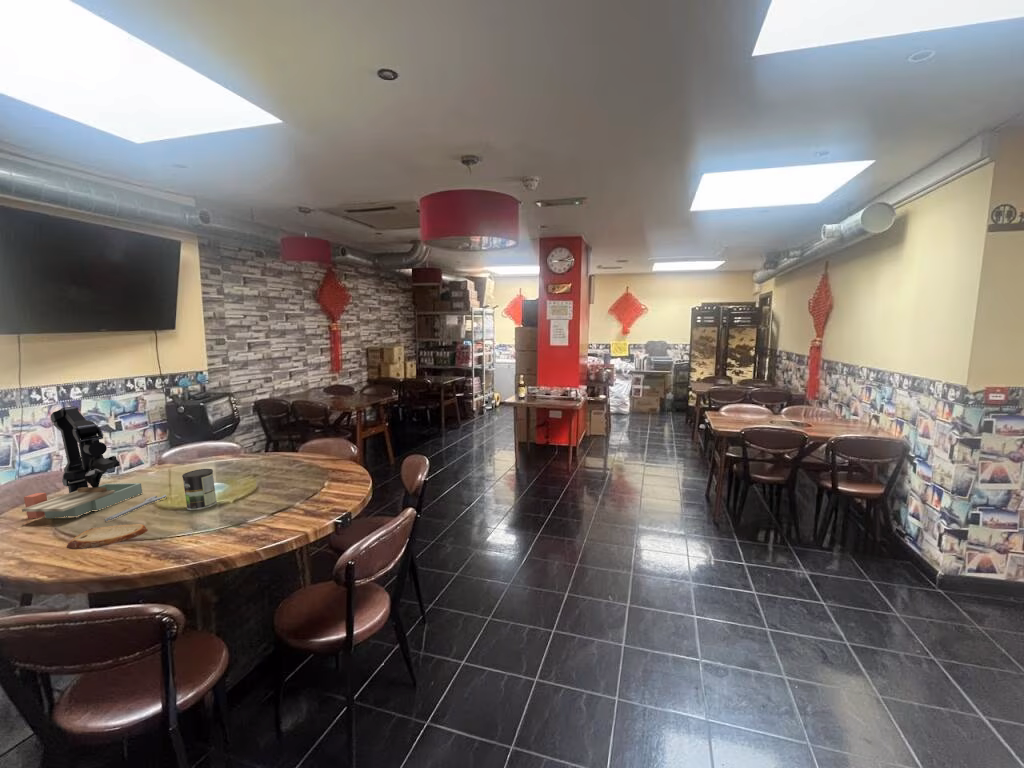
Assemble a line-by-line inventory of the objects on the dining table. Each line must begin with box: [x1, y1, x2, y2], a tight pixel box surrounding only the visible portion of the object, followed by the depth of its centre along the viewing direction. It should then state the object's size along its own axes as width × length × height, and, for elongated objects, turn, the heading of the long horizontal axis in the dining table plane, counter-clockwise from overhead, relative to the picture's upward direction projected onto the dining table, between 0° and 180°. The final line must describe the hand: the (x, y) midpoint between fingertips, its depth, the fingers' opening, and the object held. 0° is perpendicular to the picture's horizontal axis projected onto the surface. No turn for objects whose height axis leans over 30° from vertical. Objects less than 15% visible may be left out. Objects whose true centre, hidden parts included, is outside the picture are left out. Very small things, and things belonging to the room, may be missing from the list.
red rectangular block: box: [23, 492, 48, 519], centre depth 179 cm, size 4×4×9 cm
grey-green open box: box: [44, 482, 143, 519], centre depth 189 cm, size 18×26×5 cm
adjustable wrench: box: [104, 494, 167, 522], centre depth 182 cm, size 25×6×2 cm, turn 170°
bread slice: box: [66, 523, 149, 550], centre depth 155 cm, size 18×18×4 cm
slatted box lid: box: [21, 486, 115, 513], centre depth 180 cm, size 18×20×3 cm
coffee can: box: [181, 468, 218, 511], centre depth 181 cm, size 10×10×14 cm
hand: (96, 488), depth 190 cm, fingers closed
